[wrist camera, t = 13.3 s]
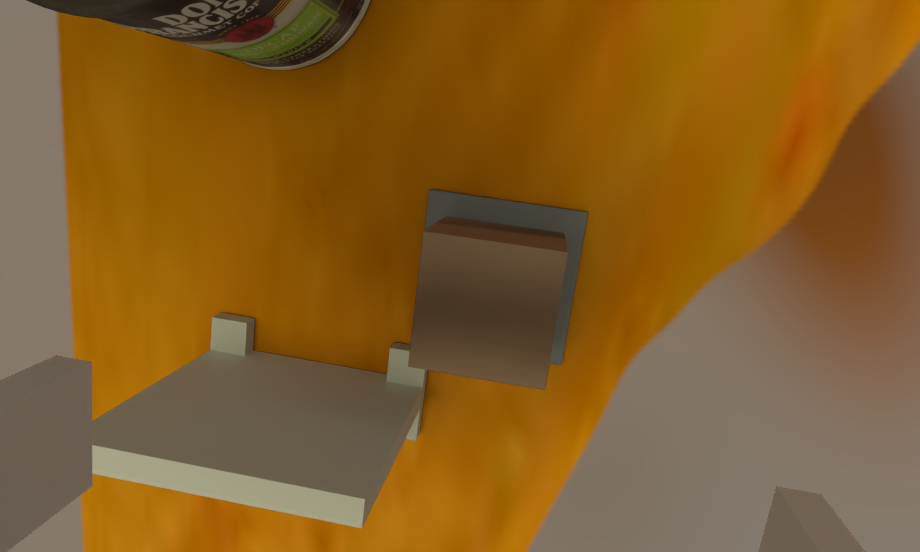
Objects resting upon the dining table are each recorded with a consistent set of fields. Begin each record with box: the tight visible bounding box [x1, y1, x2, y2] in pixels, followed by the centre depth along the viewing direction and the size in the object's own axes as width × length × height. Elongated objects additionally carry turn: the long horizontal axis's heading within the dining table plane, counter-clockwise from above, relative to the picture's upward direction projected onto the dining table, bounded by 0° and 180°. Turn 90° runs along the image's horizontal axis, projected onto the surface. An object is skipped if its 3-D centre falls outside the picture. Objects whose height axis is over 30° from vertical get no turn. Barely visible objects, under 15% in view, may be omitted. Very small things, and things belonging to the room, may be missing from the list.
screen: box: [92, 313, 428, 528], centre depth 30 cm, size 5×12×12 cm, turn 82°
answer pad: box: [424, 189, 588, 365], centre depth 33 cm, size 8×8×1 cm
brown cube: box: [408, 216, 568, 390], centre depth 30 cm, size 6×6×6 cm
